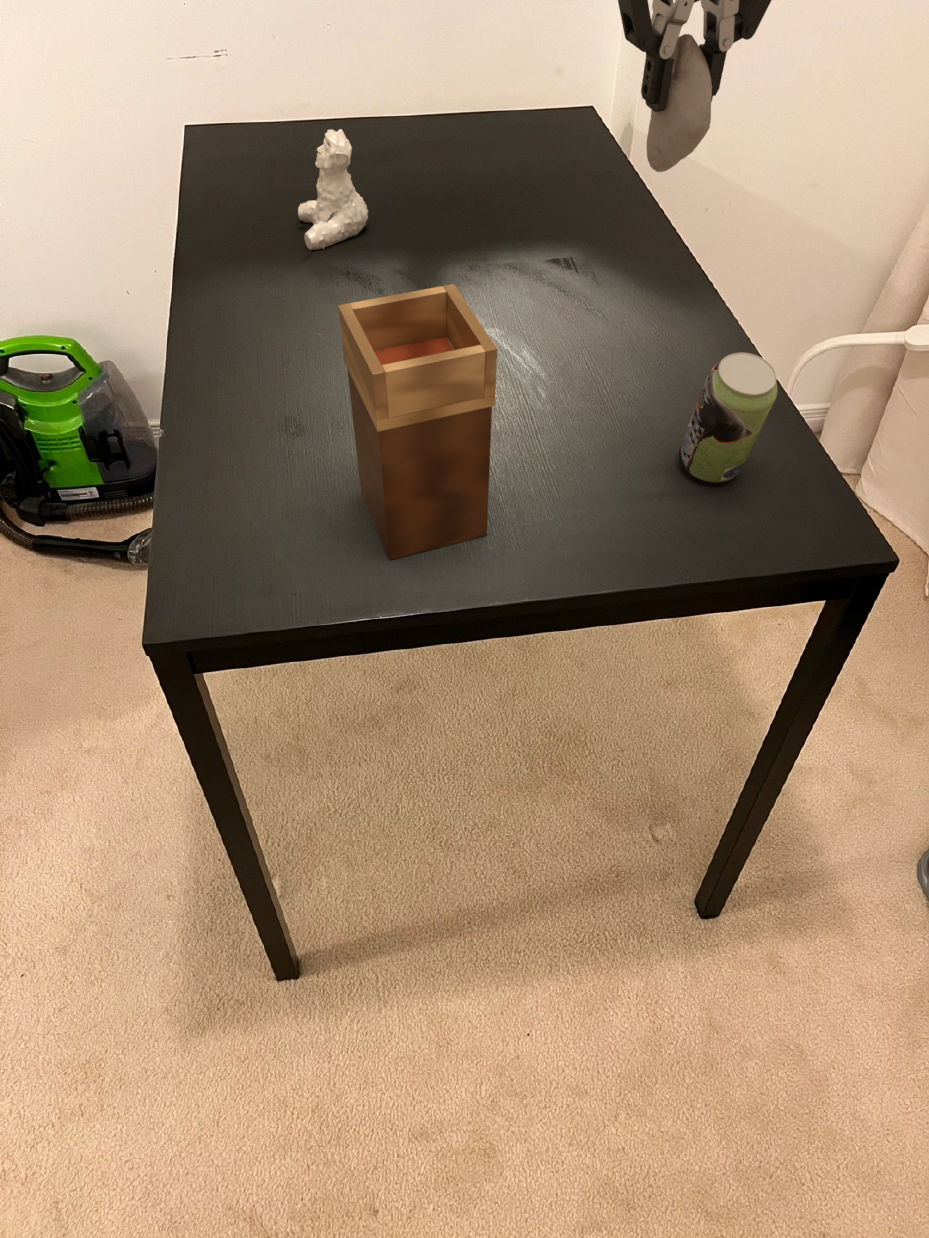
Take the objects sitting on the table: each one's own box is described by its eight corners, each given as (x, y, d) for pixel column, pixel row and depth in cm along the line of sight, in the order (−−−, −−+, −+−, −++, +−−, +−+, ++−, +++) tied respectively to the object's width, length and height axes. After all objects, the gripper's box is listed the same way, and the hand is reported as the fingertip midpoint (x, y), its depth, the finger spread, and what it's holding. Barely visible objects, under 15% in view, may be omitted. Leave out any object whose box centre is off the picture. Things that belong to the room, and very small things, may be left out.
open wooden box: (453, 340, 72) (453, 283, 68) (495, 406, 67) (497, 348, 63) (344, 362, 70) (337, 305, 66) (377, 432, 64) (372, 374, 61)
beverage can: (714, 439, 86) (746, 331, 77) (762, 485, 82) (801, 376, 73) (661, 457, 84) (687, 349, 75) (707, 505, 80) (740, 396, 71)
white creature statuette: (297, 216, 114) (283, 117, 105) (362, 209, 115) (354, 111, 106) (307, 252, 108) (293, 151, 99) (376, 244, 110) (368, 143, 100)
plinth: (452, 471, 83) (452, 341, 72) (487, 535, 77) (492, 405, 67) (360, 493, 81) (346, 362, 70) (389, 560, 75) (378, 430, 65)
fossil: (704, 181, 72) (733, 42, 64) (668, 190, 71) (693, 49, 63) (664, 154, 75) (687, 18, 67) (629, 161, 74) (649, 24, 66)
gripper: (657, -173, 52) (617, 136, 65) (858, -186, 55) (781, 111, 68) (603, -194, 57) (576, 99, 70) (792, -205, 60) (732, 77, 73)
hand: (678, 103), depth 69 cm, fingers closed on fossil, 3 cm apart
